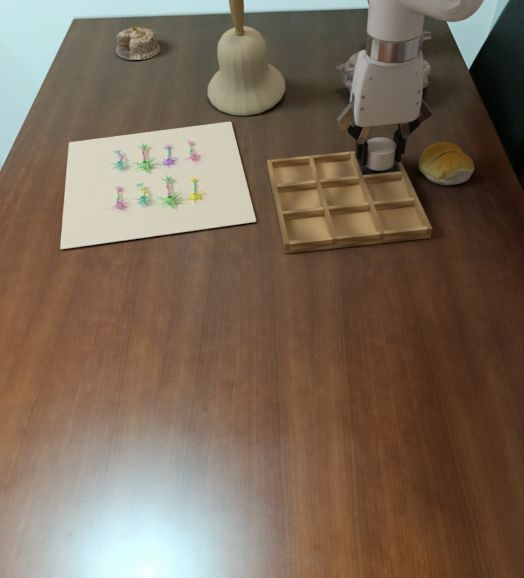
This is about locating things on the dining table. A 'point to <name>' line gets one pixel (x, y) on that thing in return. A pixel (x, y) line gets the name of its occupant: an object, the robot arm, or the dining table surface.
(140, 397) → the dining table surface
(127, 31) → the cake
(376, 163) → the white cylinder puck
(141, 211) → the printed paper
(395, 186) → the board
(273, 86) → the handbell
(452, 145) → the bread roll
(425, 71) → the geode
